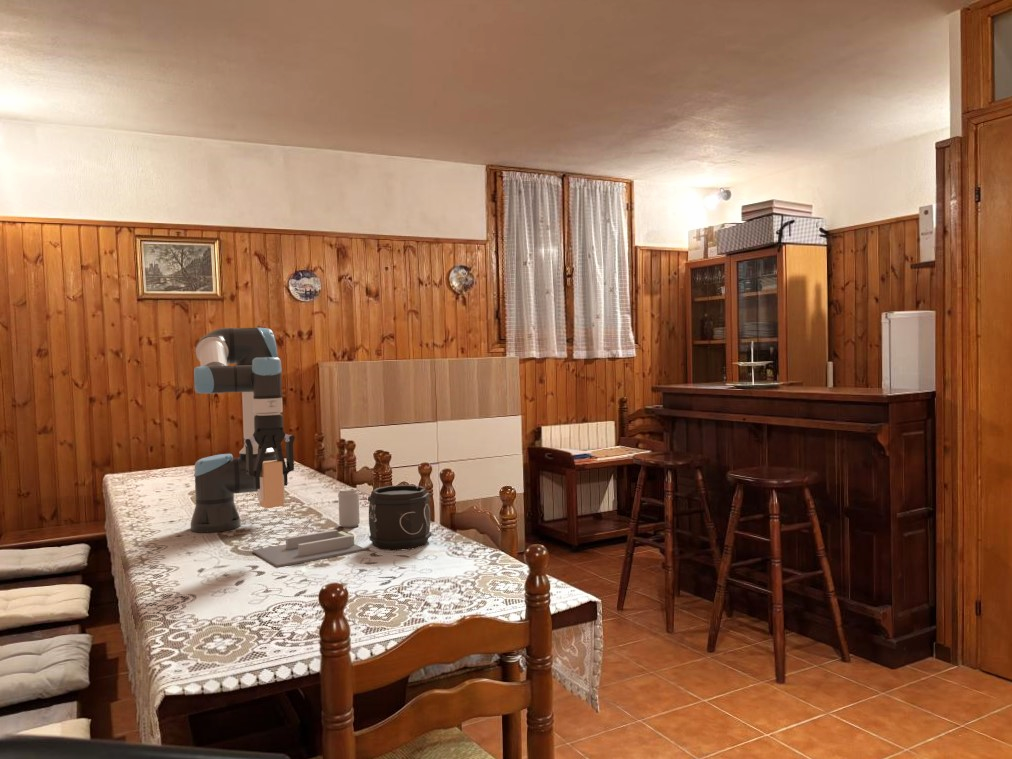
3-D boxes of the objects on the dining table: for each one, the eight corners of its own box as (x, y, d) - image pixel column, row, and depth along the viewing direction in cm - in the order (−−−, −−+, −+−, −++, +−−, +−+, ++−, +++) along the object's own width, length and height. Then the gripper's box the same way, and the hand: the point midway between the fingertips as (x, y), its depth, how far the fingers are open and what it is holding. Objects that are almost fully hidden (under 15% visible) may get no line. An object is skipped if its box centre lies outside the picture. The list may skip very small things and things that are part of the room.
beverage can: (355, 528, 239) (353, 490, 239) (336, 528, 241) (334, 490, 240) (362, 524, 246) (361, 487, 245) (344, 523, 247) (343, 487, 246)
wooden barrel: (443, 538, 224) (442, 485, 223) (411, 553, 207) (409, 496, 207) (392, 533, 231) (391, 482, 231) (357, 547, 215) (355, 493, 214)
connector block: (259, 505, 206) (257, 461, 206) (277, 503, 209) (276, 460, 209) (265, 508, 202) (263, 463, 202) (283, 505, 205) (282, 461, 205)
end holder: (252, 552, 213) (252, 539, 213) (335, 537, 228) (335, 525, 227) (277, 567, 197) (276, 553, 196) (365, 550, 211) (364, 537, 211)
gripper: (238, 416, 197) (241, 505, 197) (305, 412, 207) (308, 496, 208) (230, 415, 203) (233, 501, 203) (295, 411, 213) (298, 493, 214)
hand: (271, 499), depth 206 cm, fingers closed on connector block, 5 cm apart
